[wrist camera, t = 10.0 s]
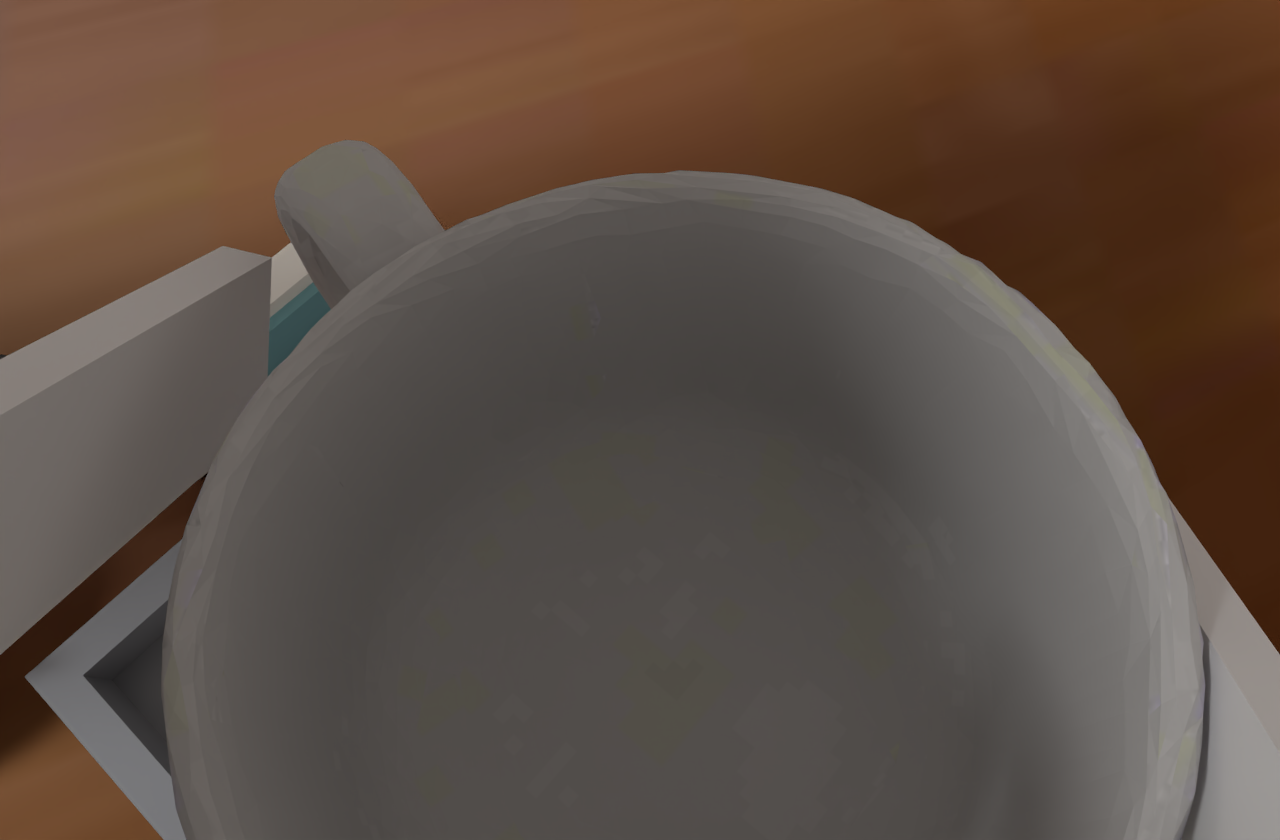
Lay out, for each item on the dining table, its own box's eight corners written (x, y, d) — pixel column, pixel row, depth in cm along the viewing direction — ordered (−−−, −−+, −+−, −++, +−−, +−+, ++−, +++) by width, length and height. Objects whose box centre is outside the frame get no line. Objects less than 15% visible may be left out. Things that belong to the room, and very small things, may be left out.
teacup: (1105, 862, 16) (1468, 779, 9) (495, 1265, 14) (361, 1569, 7) (688, 260, 22) (717, -69, 15) (208, 461, 20) (-23, 176, 13)
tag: (177, 456, 29) (97, 397, 24) (384, 281, 31) (348, 195, 26) (205, 486, 29) (131, 433, 24) (412, 308, 31) (381, 226, 26)
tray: (67, 683, 27) (24, 676, 25) (586, 222, 32) (587, 185, 30) (599, 1296, 23) (599, 1349, 21) (1086, 659, 28) (1125, 651, 26)
